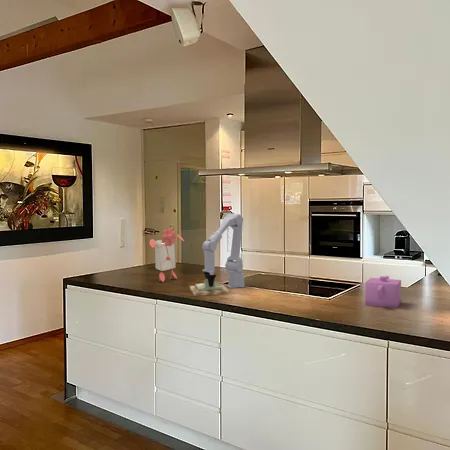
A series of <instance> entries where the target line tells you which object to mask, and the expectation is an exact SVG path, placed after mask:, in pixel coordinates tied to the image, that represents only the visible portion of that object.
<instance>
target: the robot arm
mask: <svg viewBox="0 0 450 450" xmlns="http://www.w3.org/2000/svg"><path fill="white" fill-rule="evenodd" d="M243 222H244V218H243V216H242V214H240V213H236V214H235V213H226V214H225V216H224V217H223V221H222V223H221V224H220V226H219V227H218V229H217V231H216V230H214V231H213V232H212V233H211V235H210V236H209V237H208V239H207V240H204V242H202V246H201V249H202V250H203V251H202V252H203V254H204V256H203V257H204V268H203V269H202V272H203V275H204V277H205V279H208V283H209V287H213V284H214V280H215V281H216V277H217V274H214V273H215V271H216V269H215V267H216V266H215V265H216V264H215V261H216V260H215V250H217V246H218V244H219V242H220V241H221V240H222V239H223V238H222V237H223V234H224V233H225V231H226V230H227V229H228V228H229V227H230V228H231V229H232V237H231V238H232V240H231V249H230V255H229V256H228V257H227V259H226V263H225V266H224V267H225V269H226V271H227V272H228V273H227V274H228V278H227V279H228V284H226V287H228V289H233V288H234V289H235V288H245V286H246V285H245V273H244V272H243V271H242V270H243V269H244V265H243V263H244V261H243V259H242V257H240V255H241V245H242V237H243V236H242V235H243V227H244V226H243V225H244V223H243Z"/></svg>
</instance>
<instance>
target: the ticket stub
mask: <svg viewBox="0 0 450 450" xmlns="http://www.w3.org/2000/svg"><path fill="white" fill-rule="evenodd" d="M204 283H205V286H202V287H197V289H198V291H200V290H217V289H222V286H221V285H219V286H215V283H216V279H215V280H214V284H213V287H209V283H208V279H206V278H204Z"/></svg>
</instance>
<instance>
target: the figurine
mask: <svg viewBox="0 0 450 450" xmlns="http://www.w3.org/2000/svg"><path fill="white" fill-rule="evenodd" d="M176 232H177V231H176V230H174V229H173V227H168V228H166V229H164V230H163V231H162V233H163V235H162V236H161V238H162V239H161V240H162V243H165V244H164V245H165V246H166V249H167V246H168V245H169V246H171V245H172V244H174V243H175V244H176V240H175V239H176V238H178V239H179V240H181V241H182V242H185V240H184V238H183V237H182V236H181V235H180V234H178V233H176ZM155 241H156V240H155V239H154V238H151V239H150V240H149V245H150V246H149V247H150V248H152V249H155V245H156V243H155ZM164 245H162V246H164ZM156 246H157V245H156ZM162 246H160V247H162ZM160 247H158V246H157V248H160ZM167 253H168V249H167ZM166 260H168V261H169V260H171V259H170V257H169V255H168V257H166ZM166 260H165V261H166ZM171 261H172V260H171ZM163 262H164V261H163ZM161 263H162V262H161ZM161 263H160V266H161ZM170 272H171V274H170V277H169V280H171V279H172V276H173V277H174V279H176V280H178V277H177V275H176V273H175V272H174V269H173V262H172V269H171V271H170ZM165 279H166V276H165V273H163V271H162V269H161V272H159V281H158V282H162V283H164V281H165ZM181 282H183V281H180V283H181ZM176 283H177V284H178V283H179V281H178V282H175V284H176Z"/></svg>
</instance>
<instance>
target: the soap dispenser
mask: <svg viewBox="0 0 450 450" xmlns="http://www.w3.org/2000/svg"><path fill="white" fill-rule="evenodd" d="M155 243H156V245H157V246H158V247H160V246H162V245H164V244H165V243H162V239H157V240H155ZM156 245H155V246H154V264H155V265H154V267H155V270H158V271H161V269H162V272H164V271H168V270H172V262H173V270H174V269H176V265H177V264H176V262H177V261H176V260H177V259H176V242H175V243H174V244H172V245H171V246H169V245H168V246H167V249H168V253H167V249H166V246H165V245H164V246H162V247H160V248H157V246H156ZM168 255H169V257H170V259H171V260H172V261H171V260H169V261H168V260H166V257H168ZM165 260H166V261H165ZM163 261H164V262H163ZM161 262H162V263H161ZM160 263H161V266H160Z"/></svg>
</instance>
